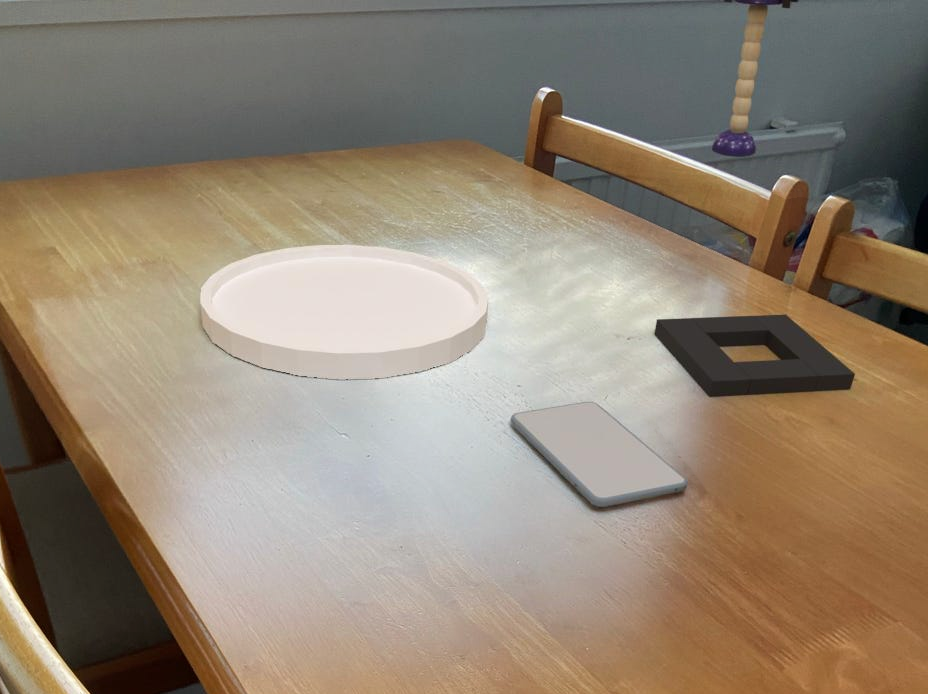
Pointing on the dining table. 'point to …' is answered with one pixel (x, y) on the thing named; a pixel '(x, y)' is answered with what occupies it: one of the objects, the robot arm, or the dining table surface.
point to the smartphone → (598, 454)
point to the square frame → (720, 376)
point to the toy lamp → (745, 84)
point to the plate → (344, 311)
